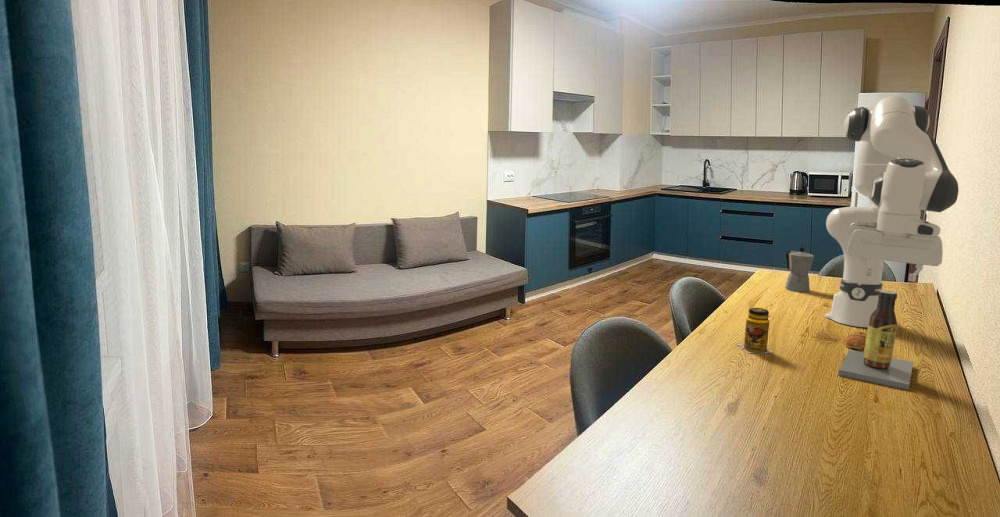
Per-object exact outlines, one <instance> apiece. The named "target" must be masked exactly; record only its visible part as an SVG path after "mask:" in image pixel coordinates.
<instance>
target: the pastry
mask: <svg viewBox="0 0 1000 517" xmlns="http://www.w3.org/2000/svg"><path fill="white" fill-rule="evenodd" d="M866 337H867V332H866V333H865V332H863V331H853V332H851V333H850V334H848V335H847V336H846V337H845V339H844V343H845V346H846V347H847V348H848V349H850V348H851V349H855V350H857V351H861V350H865V343H866Z"/></svg>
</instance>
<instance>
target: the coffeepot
mask: <svg viewBox="0 0 1000 517" xmlns="http://www.w3.org/2000/svg"><path fill="white" fill-rule="evenodd" d="M804 250H805V248H804V247H802V246H801V247H799V251H796V250H790V249H789V250H788V251H786V253H785V258H786V268H787V269H788V270H790V273H788V277H787V281H786V283H785V287H784V288H785V289H786V290H787V291H790V292H794V293H809V292H810V291H811V290H810V276H809V272H810V271H811V269H812V265H813V261H814V258H815V255H813V254H811V253H808V252H805V251H804Z"/></svg>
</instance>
